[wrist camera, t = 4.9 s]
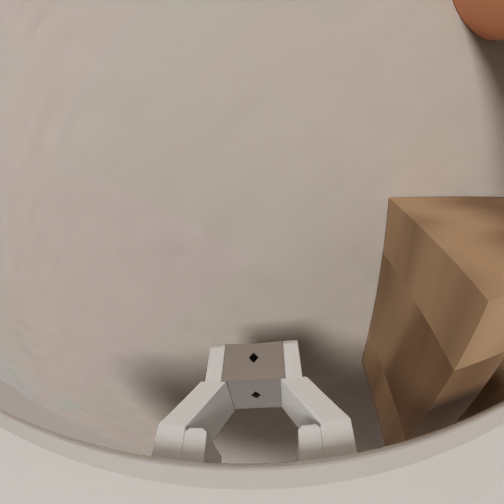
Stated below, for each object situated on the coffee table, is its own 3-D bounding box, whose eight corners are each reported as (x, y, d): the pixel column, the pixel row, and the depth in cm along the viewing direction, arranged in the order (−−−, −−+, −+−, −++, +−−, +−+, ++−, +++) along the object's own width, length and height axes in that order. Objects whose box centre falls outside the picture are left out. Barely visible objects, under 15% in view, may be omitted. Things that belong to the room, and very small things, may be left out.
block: (529, 197, 9) (607, 258, 4) (483, 331, 13) (524, 400, 8) (388, 197, 10) (488, 301, 4) (361, 360, 14) (388, 459, 9)
